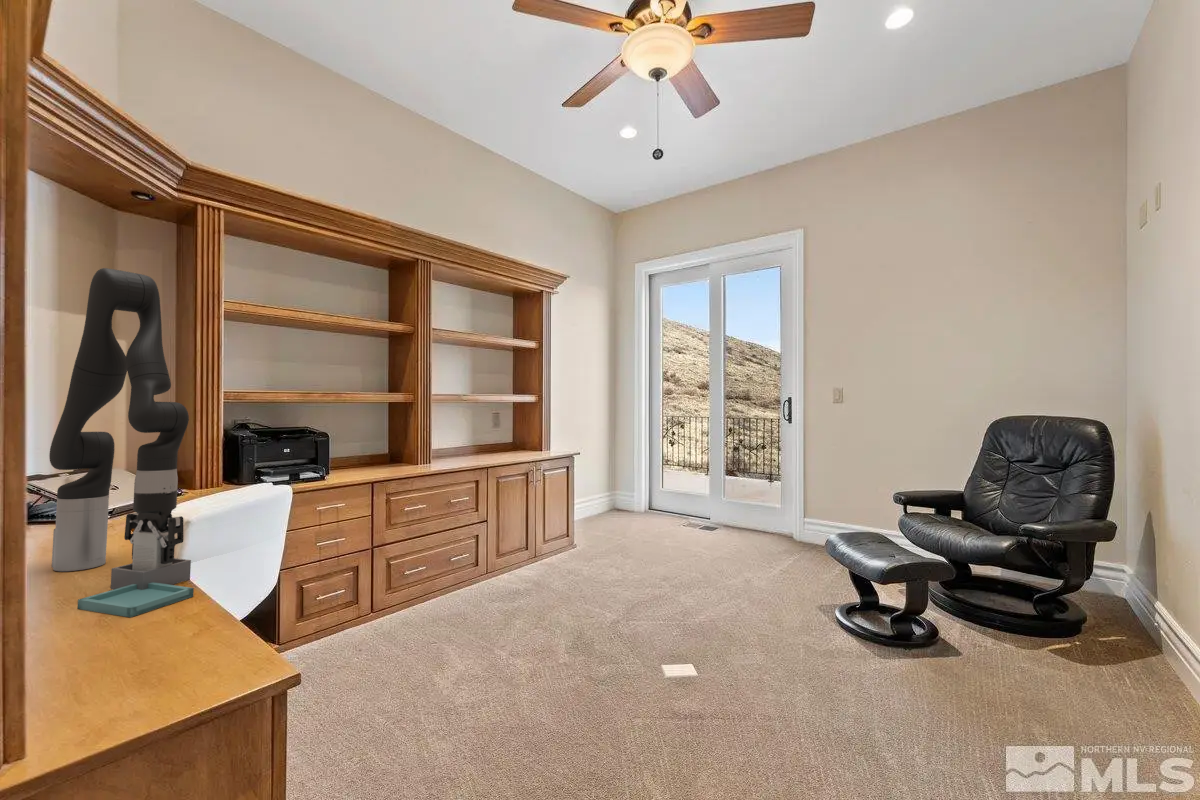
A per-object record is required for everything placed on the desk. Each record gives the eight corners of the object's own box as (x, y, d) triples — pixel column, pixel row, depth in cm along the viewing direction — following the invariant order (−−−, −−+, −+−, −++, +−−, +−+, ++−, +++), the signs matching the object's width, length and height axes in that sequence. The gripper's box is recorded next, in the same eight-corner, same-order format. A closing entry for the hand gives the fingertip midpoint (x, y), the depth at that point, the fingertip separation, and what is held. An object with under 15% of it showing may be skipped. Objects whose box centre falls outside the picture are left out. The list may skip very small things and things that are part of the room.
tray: (77, 608, 103) (77, 599, 103) (143, 589, 115) (144, 581, 115) (130, 617, 100) (131, 607, 100) (193, 596, 111) (193, 588, 111)
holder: (110, 589, 114) (111, 568, 114) (159, 575, 124) (160, 556, 124) (142, 593, 112) (143, 572, 112) (190, 579, 122) (190, 560, 122)
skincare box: (172, 582, 120) (174, 529, 120) (154, 588, 116) (157, 533, 116) (148, 580, 121) (150, 528, 121) (129, 586, 116) (132, 532, 117)
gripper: (114, 489, 117) (110, 562, 116) (162, 493, 113) (159, 569, 113) (150, 485, 124) (146, 554, 124) (197, 489, 121) (193, 559, 120)
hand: (152, 561), depth 118 cm, fingers open, 8 cm apart
